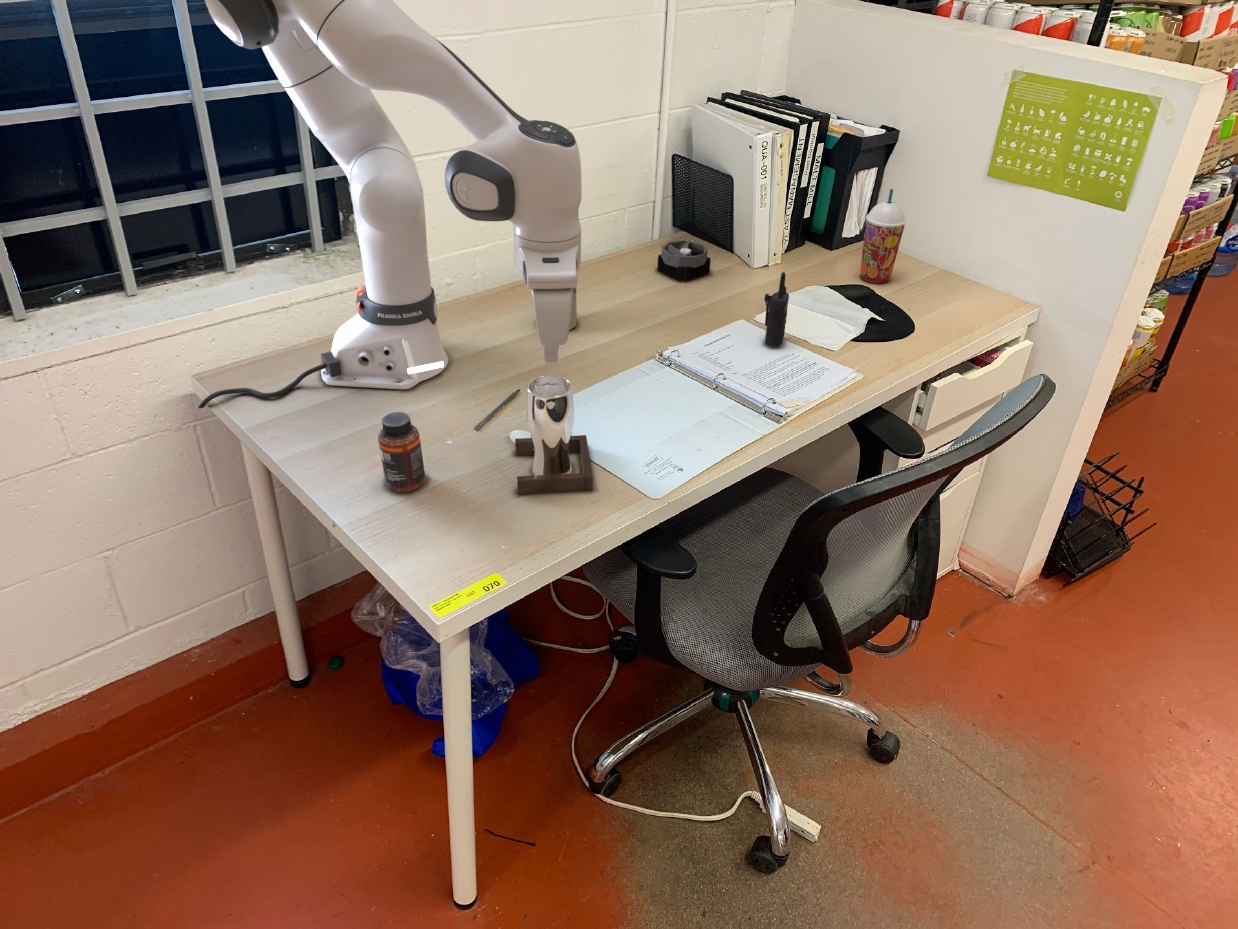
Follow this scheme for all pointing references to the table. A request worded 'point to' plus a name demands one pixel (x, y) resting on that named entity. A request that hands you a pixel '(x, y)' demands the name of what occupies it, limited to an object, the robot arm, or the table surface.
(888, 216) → the smoothie
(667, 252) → the cpu cooler
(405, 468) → the supplement bottle
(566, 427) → the beer glass
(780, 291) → the two-way radio
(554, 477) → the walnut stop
